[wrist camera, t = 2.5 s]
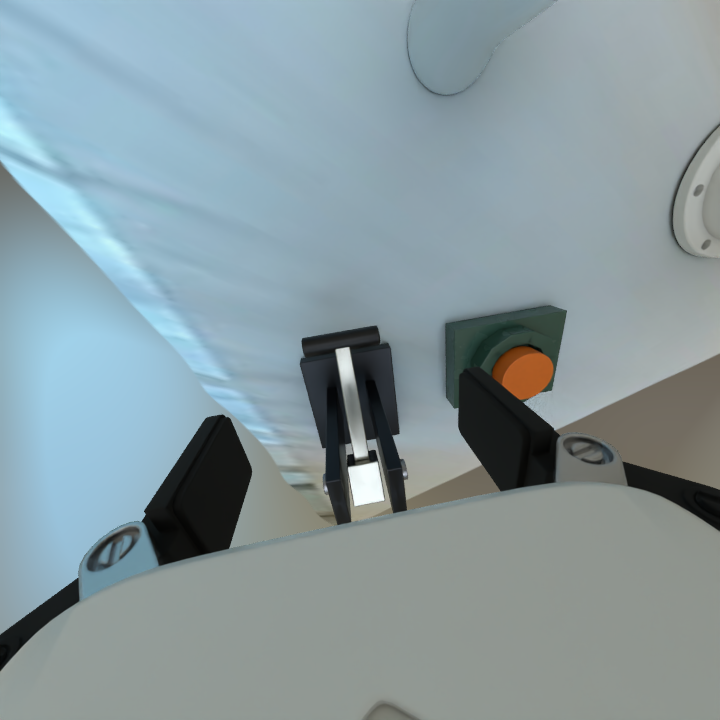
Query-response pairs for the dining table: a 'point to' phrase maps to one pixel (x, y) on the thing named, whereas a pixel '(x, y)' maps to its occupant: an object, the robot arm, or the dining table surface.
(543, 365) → the button
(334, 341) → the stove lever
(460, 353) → the block
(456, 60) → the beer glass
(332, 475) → the lever bracket
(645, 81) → the dining table surface
